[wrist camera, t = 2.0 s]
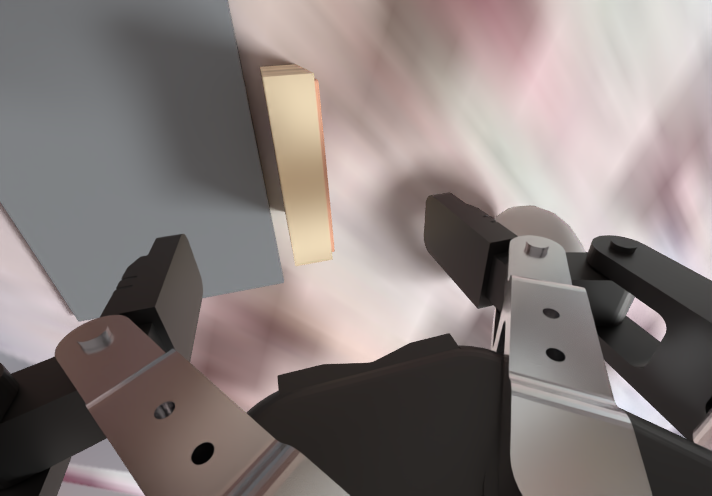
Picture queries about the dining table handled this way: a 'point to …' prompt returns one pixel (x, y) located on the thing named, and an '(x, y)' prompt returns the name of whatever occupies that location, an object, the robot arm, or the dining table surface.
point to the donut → (540, 226)
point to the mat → (130, 143)
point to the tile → (300, 159)
